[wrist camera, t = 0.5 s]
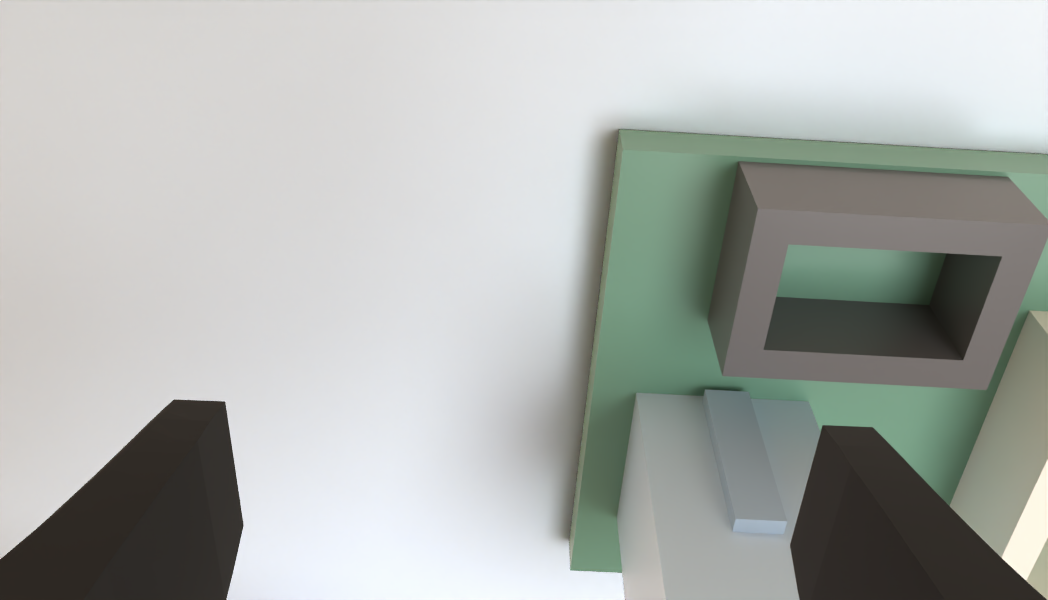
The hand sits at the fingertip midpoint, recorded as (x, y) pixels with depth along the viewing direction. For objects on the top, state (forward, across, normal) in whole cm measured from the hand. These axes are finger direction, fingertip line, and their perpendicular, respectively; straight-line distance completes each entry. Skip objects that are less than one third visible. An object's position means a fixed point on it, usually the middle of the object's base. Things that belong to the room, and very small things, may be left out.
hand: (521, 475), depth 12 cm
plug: (+9, -5, +8) cm, 13 cm away
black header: (+9, -7, +2) cm, 11 cm away
